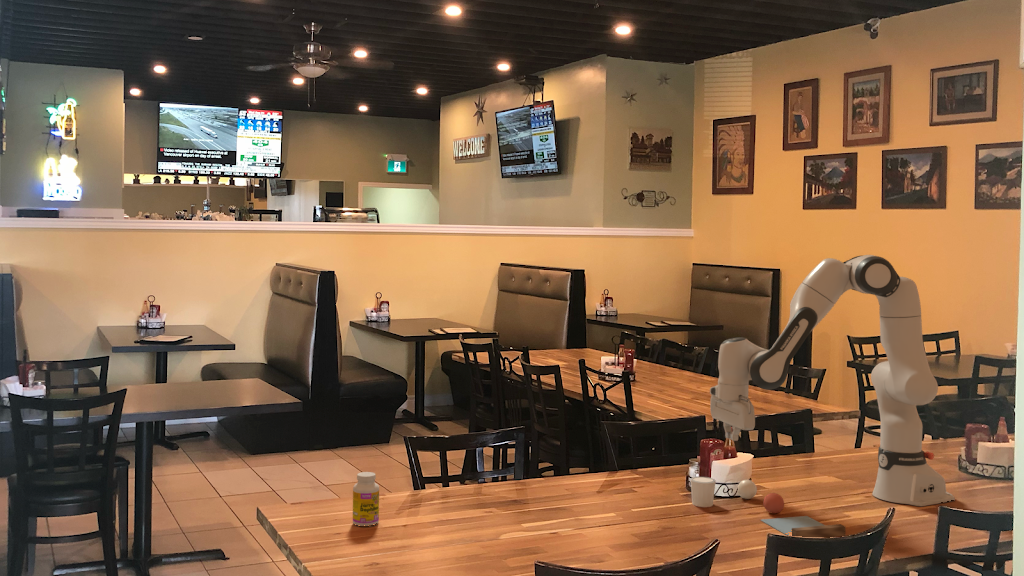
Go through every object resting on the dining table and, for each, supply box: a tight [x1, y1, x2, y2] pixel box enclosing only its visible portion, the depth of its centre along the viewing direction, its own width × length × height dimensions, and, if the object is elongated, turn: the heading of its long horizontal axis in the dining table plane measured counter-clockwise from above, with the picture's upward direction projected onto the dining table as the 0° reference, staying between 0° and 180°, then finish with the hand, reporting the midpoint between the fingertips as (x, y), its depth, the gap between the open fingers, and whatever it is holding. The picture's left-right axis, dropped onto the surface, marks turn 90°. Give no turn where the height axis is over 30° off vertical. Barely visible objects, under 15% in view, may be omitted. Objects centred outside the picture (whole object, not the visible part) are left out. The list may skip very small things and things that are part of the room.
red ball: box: [763, 492, 785, 514], centre depth 246 cm, size 5×5×5 cm
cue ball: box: [737, 479, 758, 500], centre depth 260 cm, size 5×5×5 cm
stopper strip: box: [792, 523, 846, 538], centre depth 227 cm, size 14×2×2 cm, turn 106°
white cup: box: [690, 476, 717, 508], centre depth 254 cm, size 7×7×7 cm
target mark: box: [760, 515, 825, 536], centre depth 235 cm, size 14×14×1 cm
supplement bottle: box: [352, 471, 380, 526], centre depth 233 cm, size 7×7×13 cm
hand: (731, 439), depth 268 cm, fingers closed
